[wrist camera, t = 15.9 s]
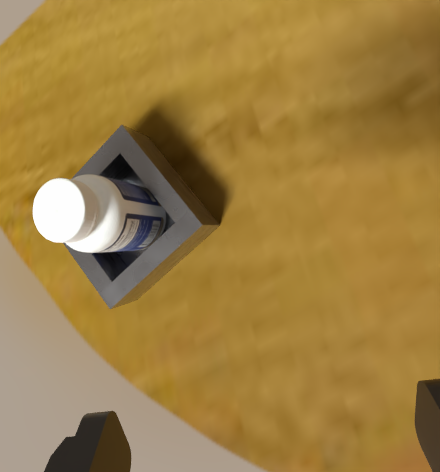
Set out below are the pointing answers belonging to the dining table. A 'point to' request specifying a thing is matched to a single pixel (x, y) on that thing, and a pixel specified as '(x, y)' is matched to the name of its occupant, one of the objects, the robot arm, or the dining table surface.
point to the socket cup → (171, 199)
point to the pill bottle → (98, 214)
